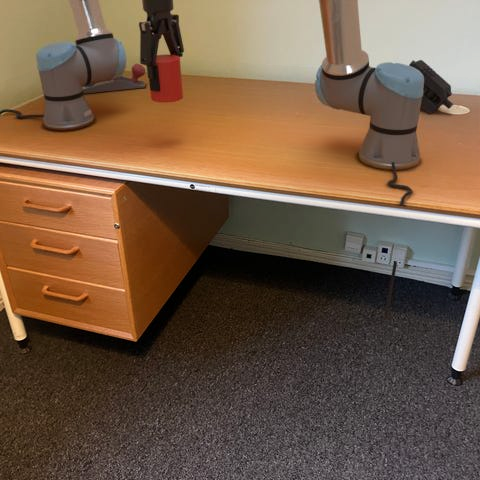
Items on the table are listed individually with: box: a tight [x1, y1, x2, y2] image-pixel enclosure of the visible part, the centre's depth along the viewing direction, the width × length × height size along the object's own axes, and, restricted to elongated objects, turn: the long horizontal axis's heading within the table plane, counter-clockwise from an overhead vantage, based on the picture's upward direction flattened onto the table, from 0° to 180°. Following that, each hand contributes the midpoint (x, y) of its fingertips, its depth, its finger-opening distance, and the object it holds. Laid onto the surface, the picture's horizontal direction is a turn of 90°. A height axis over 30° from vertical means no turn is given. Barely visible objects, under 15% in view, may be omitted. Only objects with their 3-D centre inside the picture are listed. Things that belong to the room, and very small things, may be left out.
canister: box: [149, 54, 184, 104], centre depth 141 cm, size 9×9×10 cm
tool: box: [408, 59, 454, 114], centre depth 170 cm, size 6×19×15 cm, turn 51°
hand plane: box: [82, 63, 146, 95], centre depth 194 cm, size 7×31×15 cm, turn 107°
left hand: (165, 86), depth 142 cm, fingers closed on canister, 9 cm apart
